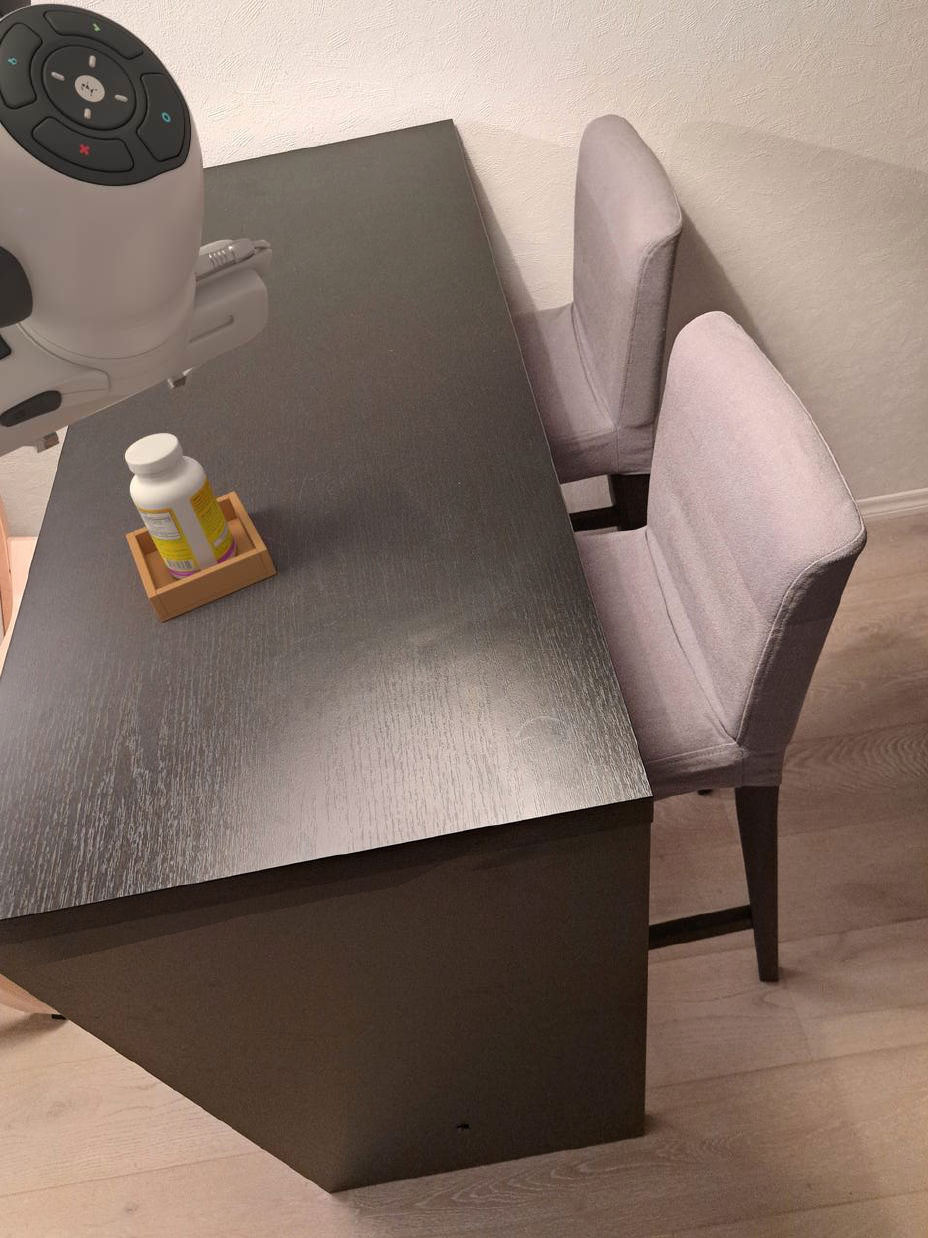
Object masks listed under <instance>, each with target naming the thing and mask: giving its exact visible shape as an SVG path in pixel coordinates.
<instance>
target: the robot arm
mask: <svg viewBox="0 0 928 1238" xmlns="http://www.w3.org/2000/svg"><path fill="white" fill-rule="evenodd" d="M204 215H205V172H204V160H203V153H202V148H201V142H200V138H199V133H198V129H197V126H196V123H195V119H194V115H193V113H192V109H191V107H190V105H189V102H188V101H187V99H186V96H185V95H184V93H183V91H182V89H181V87H180V85H179V84H178V82H177V80H176V79H175V77H174V76H173V75H172V72H170V70H169V68H168V67H167V66H166V65H165V63H164V62H163V61H162V60H161V58H160V57H159V56H158V55H157V54H156V52H155V51H154V50H152V48H150V46H148V45H147V43H146V42H144V40H142V39H141V38H140V37H139V36H138V35H136V34H135V33H133V32H132V31H131V30H130V29H128V28H127V27H125V26H124V25H122V24H120V23H119V22H117V21H115V20H113V19H112V18H110V17H107V16H105V15H103V14H101V13H98V12H97V11H93V10H91V9H88V8H84V7H81V6H78V5H77V6H76V5H73V4H65V3H55V2H53V3H51V2H48V3H37V4H36V3H35V4H32V1H31V0H0V458H1V457H4V456H6V455H8V454H10V453H12V452H15V451H17V450H19V449H21V448H23V447H32V448H33V449H34V450H35V452H36V453H37V454H41V453H42V452H45V451H47V450H49V449H51V448H53V447H55V446H57V445H59V444H60V440H59V439H60V438H59V435H58V433H57V431H60V430H62V429H64V428H66V427H69V426H70V425H72V424H75V423H76V422H79V421H81V420H84V419H86V418H87V417H90V416H92V415H94V414H96V413H98V412H100V411H102V410H105V409H106V408H107V409H108V408H109V407H111V406H113V405H115V404H118V403H120V402H122V401H124V400H126V399H129V398H130V397H132V396H134V395H136V394H139V393H141V392H143V391H145V390H148V389H150V388H152V387H154V386H156V385H158V384H160V383H163V382H165V381H166V385H167V386H168V388H169V389H170V390H171V391H173V390H175V389H177V388H181V387H182V386H184V385H186V384H189V383H191V382H192V381H193V375H194V373H195V372H196V371H197V370H198V369H199V368H200V367H201V366H203V364H204V363H206V362H208V361H210V360H212V359H214V358H216V357H218V356H221V355H222V354H225V353H227V352H229V351H232V350H233V349H235V348H238V347H240V346H243V345H245V344H248V343H249V342H250V341H252V340H254V339H255V338H256V337H257V336H259V335H260V333H262V332H263V331H264V329H265V328H266V326H267V323H268V317H269V305H270V304H269V303H270V302H269V293H268V289H267V286H266V284H264V282H263V280H262V279H263V278H264V277H265V275H266V274H267V273H268V272H269V269H270V268H271V263H272V259H273V254H274V253H273V251H272V246H271V244H270V243H269V242H267V241H266V240H265V239H259V240H253V241H251V240H250V239H249V238H247V237H245V238H244V237H243V238H239V239H236V240H234V239H233V240H232V239H221V240H217V241H213V242H210V243H208V244H205V245H203V246H201V245H202V236H203V230H204V229H203V228H204V227H203V226H204Z"/></svg>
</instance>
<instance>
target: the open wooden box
mask: <svg viewBox="0 0 928 1238" xmlns="http://www.w3.org/2000/svg"><path fill="white" fill-rule="evenodd" d="M216 499H217V501H218V504H219V506H220V508H221V511H222V513H223V515H224V518H225V520H226V522H227V524H228V527H229V529H230V531H231V534H232V536H233V538H234V541H235V543H236V555H235V557H234V558H232V559H229V560H227V561H224V562H222V563H220V564H217V565H215V566H212V567H210V568H208V569H205V570H203V571H200V572H198V573H196V574H193V575H191V576H188V577H186V578H183V579H181V580H179V579H177V578H175V577H174V576H173V575H172V574H171V573H170V571H169V570H168V568H167V566H166V564H165V562H164V560H163V558H162V556H161V555H160V553H159V551H158V549H157V547H156V545H155V543H154V541H153V539H152V537H151V535H150V533H149V531H148V529H147V527H146V526H144V527H141V528H139V529H135V530H134V531H132V532H128V533H126V534H125V537H126V539H127V543H128V546H129V548H130V551H131V554H132V556H133V559H134V562H135V565H136V567H137V570H138V573H139V576H140V578H141V581H142V585H143V587H144V589H145V592H146V595H147V597H148V601H149V602H150V604H151V606H152V607H153V609H154V612H155V613H156V615H157V617H158V619H159V621H160V622H161V623H164V622H166V621H168V620H171V619H173V618H176V617H178V616H180V615H183V614H185V613H187V612H190V611H193V610H195V609H197V608H200V607H201V606H204V605H206V604H209V603H211V602H213V601H215V600H219V599H220V598H223V597H225V596H228V595H230V594H232V593H234V592H237V591H239V590H241V589H244V588H246V587H249V586H251V585H253V584H255V583H258V582H260V581H263V580H265V579H268V578H270V577H273V576H274V575H277V569H276V568H275V566H274V563H273V560H272V558H271V555H270V553H269V550H268V548H267V546H266V544H265V543H264V541H263V539H262V537H261V536H260V534H259V531H258V530H257V528H256V527H255V524H254V523H253V521H252V519H251V517H250V516H249V514H248V512H247V511H246V509H245V507H244V505H243V504H242V501H241V500H240V498H239V496H238V494H237V492H236V491H234V490H233V491H231V492H228V493H227V494H226V493H225V494H223V495H222V496H219V497H216Z"/></svg>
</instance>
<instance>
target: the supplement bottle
mask: <svg viewBox="0 0 928 1238" xmlns="http://www.w3.org/2000/svg"><path fill="white" fill-rule="evenodd" d="M124 460H125V462H126V464H127V466H128V468H129V470H130V472H131V473H133V474H134V475H133V478H132V479H131V481H130V485H129V493H130V496H131V499H132V501H133V504H134V505H135V507H136V509H137V511H138V513H139V515H140V517H141V519H142V521H143V523H144V526H145V527H147V529H148V531H149V533H150V535H151V537H152V539H153V541H154V543H155V545H156V547H157V549H158V551H159V553H160V555H161V556H162V558H163V560H164V562H165V564H166V566H167V568H168V570H169V571H170V573H171V574H172V575H173V576H174V577H175V578H177V579H179V580H181V579H183V578H186V577H188V576H191V575H193V574H196V573H198V572H200V571H203V570H205V569H208V568H210V567H212V566H215V565H217V564H220V563H222V562H224V561H227V560H229V559H232V558H234V557H235V555H236V543H235V541H234V538H233V536H232V534H231V531H230V529H229V527H228V524H227V522H226V520H225V518H224V515H223V513H222V511H221V508H220V506H219V504H218V501H217V499H216V498H217V496H216V494H215V491H213V487H212V486H211V482H210V481H209V478H208V476H207V474H206V471H205V470H204V468H203V466H202V465H201V463H200V462H198V461H197V460H196V459H194V458H192V457H190V456H188V455H187V456H186V455H184V449H183V447H182V445H181V443H180V441H179V439H178V437H177V436H175V435H174V434H172V433H169V432H168V433H166V432H161V433H160V432H159V433H154V434H150V435H147V436H144V437H143V438H140V439H138V440H137V441H135V442H134V443H132V444H131V445H130V446H129V447H128V448H127V449H126V451H125V454H124Z"/></svg>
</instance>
